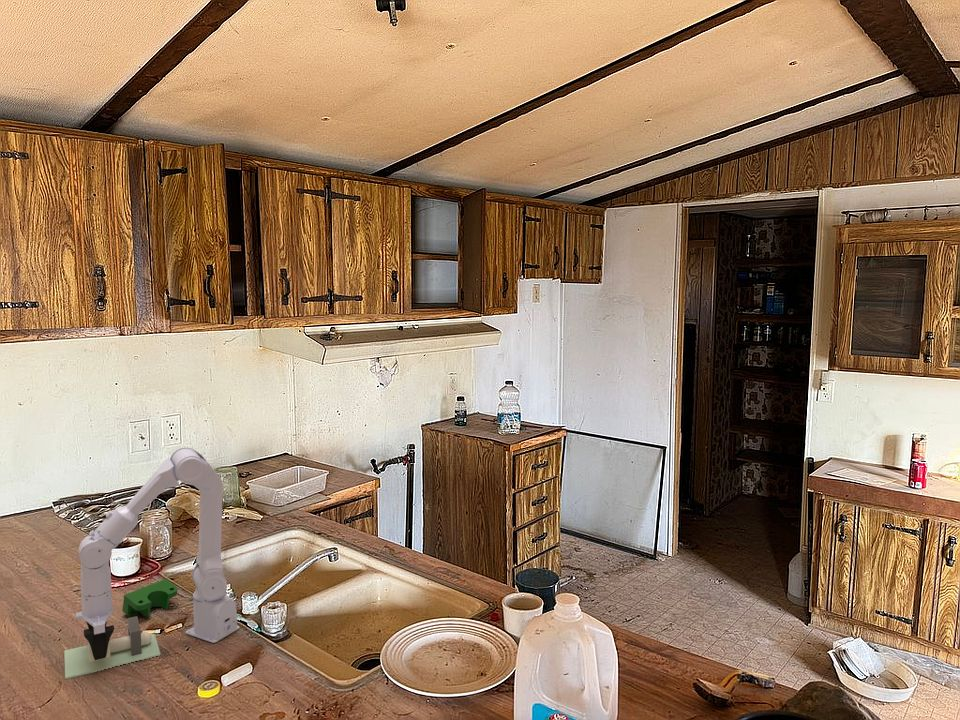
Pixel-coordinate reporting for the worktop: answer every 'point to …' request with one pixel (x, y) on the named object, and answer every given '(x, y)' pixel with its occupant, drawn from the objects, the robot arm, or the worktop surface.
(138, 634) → the loop
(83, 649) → the mat
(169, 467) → the robot arm
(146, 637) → the cream mallet
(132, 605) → the clamp
